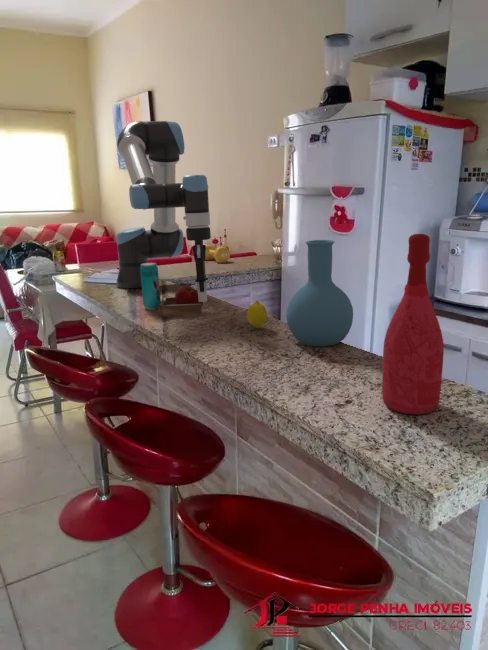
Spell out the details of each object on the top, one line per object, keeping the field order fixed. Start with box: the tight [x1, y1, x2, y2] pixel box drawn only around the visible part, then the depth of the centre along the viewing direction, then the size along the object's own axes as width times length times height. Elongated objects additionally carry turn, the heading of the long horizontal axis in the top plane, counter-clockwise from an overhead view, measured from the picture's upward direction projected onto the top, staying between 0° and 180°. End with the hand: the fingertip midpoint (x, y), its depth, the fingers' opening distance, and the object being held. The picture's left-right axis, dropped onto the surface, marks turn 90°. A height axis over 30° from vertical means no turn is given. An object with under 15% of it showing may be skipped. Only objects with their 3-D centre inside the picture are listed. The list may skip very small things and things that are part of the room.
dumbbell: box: [205, 244, 231, 264], centre depth 271 cm, size 19×9×8 cm, turn 34°
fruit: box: [246, 300, 268, 329], centre depth 140 cm, size 6×6×8 cm
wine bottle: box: [381, 233, 445, 415], centre depth 85 cm, size 10×10×30 cm
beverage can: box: [140, 262, 162, 311], centre depth 167 cm, size 6×6×15 cm
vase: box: [285, 239, 354, 347], centre depth 124 cm, size 16×17×25 cm
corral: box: [157, 296, 204, 318], centre depth 163 cm, size 13×13×4 cm
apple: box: [174, 285, 198, 305], centre depth 164 cm, size 8×8×8 cm
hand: (202, 301), depth 162 cm, fingers closed
